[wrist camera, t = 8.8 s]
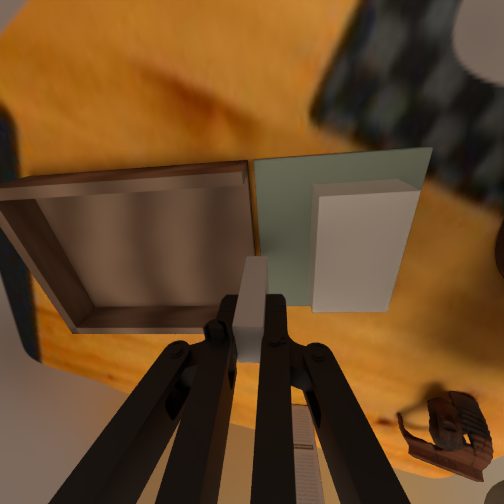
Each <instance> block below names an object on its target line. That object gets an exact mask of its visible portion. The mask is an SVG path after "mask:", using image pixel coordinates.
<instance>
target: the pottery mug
mask: <svg viewBox="0 0 504 504" xmlns="http://www.w3.org/2000/svg"><path fill="white" fill-rule="evenodd" d="M449 396H450V397H451V400H452V404H451V403H450V402H448V401H447V400H445V399H443V398H440V397H436V398H433V399H430V400H427V403H428V411H429V416H430V419H429V426H430V428H429V432H430V434H431V436H432V438H433V441H434V443H435V444H436V445H433V444H432V443H428V442H426V441H425V440H423V439H420V438H417V437H414V436H412V435H411V434H410V433H409V432H408V431H407V430H406V429H405V428H404V425H403V419H402V416H401V415H398V423H399V428H400V430H401V433H402V435H403V437H404V438H405V440H406V441H407V443H408V445H409V452H408V453H409V454H410V455H412V456H413V457H414V458H417V459H420V460H422V461H425V462H427V463H430V464H432V465H435V466H438V467H440V468H443V469H445V470H448V471H450V472H453V473H456V474H458V475H461V476H464V477H466V478H469V479H471V480H474V481H477V482H484V480H483V475H482V470H483V469H485V468H486V467H487V466H488V465H489V464H490V463H491V460H492V459H493V455H492V454H493V449H492V438H491V436H490V431H489V430H488V425H487V424H486V420H485V418H484V416H483V414H482V412H481V410H480V408H479V405H478V403H477V402H476V401H475V400H474V399H472V398H470V397H468V396H465V395H463V394H459V393H456V392H452V391H449ZM464 434H467V435H468V437H469V440H470V443H471V444H468V443H466V440H465V438H464V436H463V435H464Z"/></svg>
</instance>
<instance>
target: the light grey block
mask: <svg viewBox="0 0 504 504" xmlns="http://www.w3.org/2000/svg"><path fill="white" fill-rule="evenodd" d="M420 192H421V191H420V190H418V189H416V188H415V187H413V186H411V185H409V184H407V183H405V182H403V181H401V180H399V179H388V180H372V181H356V182H340V183H324V184H312V206H311V228H310V249H309V271H308V294H309V299H310V304H311V309H312V313H323V312H387V311H388V307H389V304H390V300H391V296H392V293H393V289H394V286H395V282H396V278H397V275H398V271H399V268H400V264H401V260H402V257H403V253H404V250H405V246H406V243H407V239H408V235H409V232H410V228H411V225H412V221H413V217H414V214H415V210H416V207H417V203H418V199H419V196H420Z"/></svg>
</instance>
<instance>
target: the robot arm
mask: <svg viewBox="0 0 504 504" xmlns="http://www.w3.org/2000/svg"><path fill="white" fill-rule="evenodd" d="M496 263H497V267H498V269H499V272H500V274H501V275H502V277H503V278H504V224H503V226H502V229H501V231H500V234H499V237H498V240H497V245H496ZM203 331H204V335H205V340H204V341H202V342H199V343H196V344H192V345H189V344H188V343H187V342H185V341H181V340H178V341H174V342H172V343H170V344H169V345H168V346H167V347H166V348H165V349H164V350H163V352H162V353H161V354H160V356H159V357H158V358H157V359H156V361H155V362H154V363H153V365H152V366H151V367H150V369H149V370H148V371H147V373H146V374H145V375H144V377H143V378H142V379H141V381H140V382H139V383H138V385H137V386H136V387H135V389H134V390H133V391H132V393H131V394H130V395H129V397H128V398H127V400H126V401H125V402H124V404H123V405H122V406H121V407H120V409H119V410H118V411H117V413H116V414H115V415H114V417H113V418H112V419H111V421H110V422H109V424H108V425H107V426H106V427H105V429H104V430H103V431H102V433H101V434H100V436H99V437H98V438H97V439H96V441H95V442H94V443H93V445H92V446H91V448H90V449H89V450H88V451H87V453H86V454H85V455H84V457H83V458H82V459H81V461H80V462H79V463H78V465H77V466H76V467H75V469H74V470H73V471H72V473H71V474H70V476H69V477H68V478H67V479H66V481H65V482H64V483H63V485H62V486H61V487H60V489H59V490H58V491H57V493H56V494H55V495H54V497H53V498H52V499H51V501H50V502H49V503H48V504H136V503H137V500H138V499H139V497H140V495H141V493H142V491H143V489H144V488H145V486H146V484H147V482H148V480H149V478H150V476H151V474H152V473H153V471H154V469H155V467H156V465H157V463H158V461H159V459H160V457H161V455H162V454H163V452H164V450H165V448H166V446H167V444H168V442H169V440H170V438H171V437H172V435H173V433H174V431H175V429H176V427H177V425H178V423H179V422H180V424H179V427H178V430H177V434H176V437H175V440H174V443H173V446H172V450H171V453H170V456H169V459H168V462H167V466H166V469H165V472H164V475H163V479H162V482H161V485H160V488H159V491H158V495H157V498H156V501H155V504H217V501H218V494H219V488H220V481H221V475H222V468H223V461H224V454H225V448H226V441H227V435H228V428H229V421H230V415H231V408H232V401H233V395H234V388H235V381H236V375H237V368H236V362H237V358H238V362H249V363H260V370H259V384H258V399H257V413H256V428H255V443H254V457H253V471H252V486H251V500H250V504H297V503H296V483H295V463H294V443H293V423H292V403H291V386H293V387H296V388H298V389H301V390H303V393H304V396H305V399H306V402H307V405H308V408H309V411H310V414H311V417H312V420H313V423H314V426H315V429H316V432H317V435H318V438H319V441H320V444H321V447H322V450H323V453H324V456H325V459H326V462H327V464H328V468H329V470H330V474H331V476H332V479H333V483H334V486H335V489H336V492H337V494H338V497H339V500H340V503H341V504H411V503H410V501H409V499H408V497H407V495H406V493H405V492H404V490H403V488H402V486H401V484H400V482H399V480H398V478H397V476H396V474H395V473H394V471H393V468H392V467H391V465H390V463H389V461H388V459H387V457H386V455H385V453H384V451H383V449H382V447H381V445H380V443H379V441H378V440H377V438H376V436H375V434H374V432H373V430H372V428H371V426H370V424H369V422H368V420H367V418H366V416H365V415H364V413H363V411H362V409H361V407H360V405H359V403H358V401H357V399H356V397H355V395H354V393H353V391H352V390H351V388H350V386H349V384H348V382H347V380H346V378H345V376H344V374H343V372H342V370H341V368H340V366H339V364H338V363H337V361H336V359H335V357H334V355H333V353H332V351H331V350H330V349H329V347H327V346H326V345H324V344H321V343H311V344H308V345H307V346H303V345H300V344H298V343H295V342H294V341H293V340H292V339H291V338H290V337H289V335H288V330H287V311H286V299H285V297H284V296H283V294H269V276H268V257H267V256H247V257H246V262H245V267H244V272H243V277H242V281H241V286H240V291H239V294H237V295H225V297H224V298H223V299H222V300H221V303H220V308H219V310H218V313H217V317H216V319H213V320H210V321H208V322H207V323H206V324H205V325H204V327H203ZM180 420H181V421H180ZM484 504H504V480H503V481H501V482H498V483H497V484H496V485H494V486H493V487H492V488H491V489H490V490H489V492H488V493H487V495H486V498H485V502H484Z"/></svg>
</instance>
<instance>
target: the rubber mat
mask: <svg viewBox="0 0 504 504" xmlns="http://www.w3.org/2000/svg"><path fill="white" fill-rule="evenodd" d="M432 150H433V147H429V146H428V147H415V148H401V149H388V150H375V151H361V152H348V153H334V154H321V155H308V156H294V157H281V158H268V159H254V171H255V184H256V198H257V211H258V225H259V238H260V252H261V256H267V257H268V276H269V294H283V296H284V297H285V299H286V306H311V304H310V299H309V294H308V271H309V249H310V228H311V206H312V184H324V183H340V182H356V181H372V180H388V179H399V180H401V181H403V182H405V183H407V184H409V185H411V186H413V187H415V188H416V189H418V190H420V191H421V189H422V185H423V182H424V178H425V175H426V171H427V168H428V164H429V160H430V157H431V153H432ZM420 193H421V192H420ZM418 200H419V199H418ZM413 218H414V217H413Z"/></svg>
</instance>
